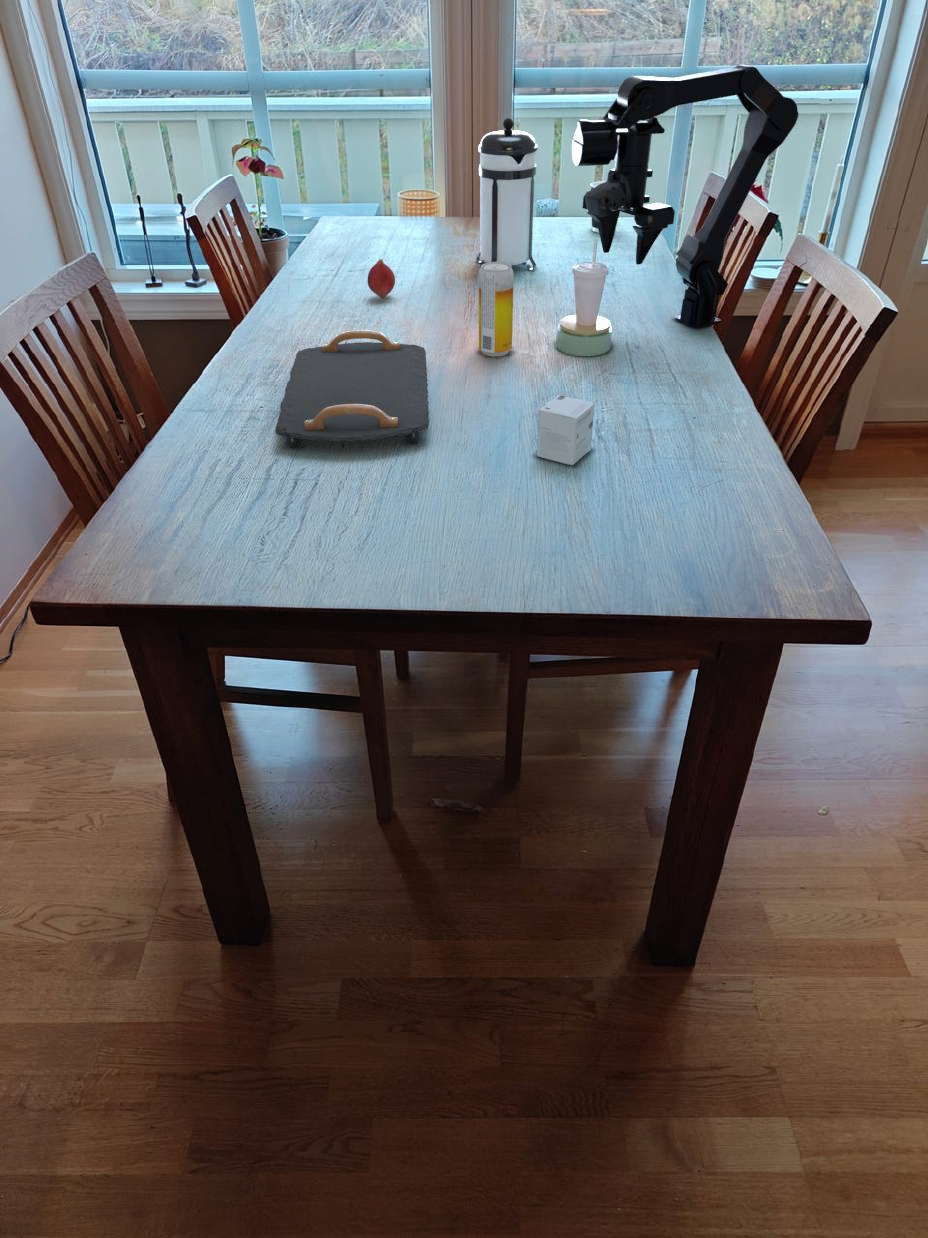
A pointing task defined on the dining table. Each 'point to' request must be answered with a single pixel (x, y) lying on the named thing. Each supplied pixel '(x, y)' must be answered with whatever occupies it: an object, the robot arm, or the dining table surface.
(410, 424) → the serving tray
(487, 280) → the beer can
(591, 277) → the smoothie
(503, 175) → the coffee press
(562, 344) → the jar
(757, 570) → the dining table surface
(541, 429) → the product carton
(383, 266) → the onion
